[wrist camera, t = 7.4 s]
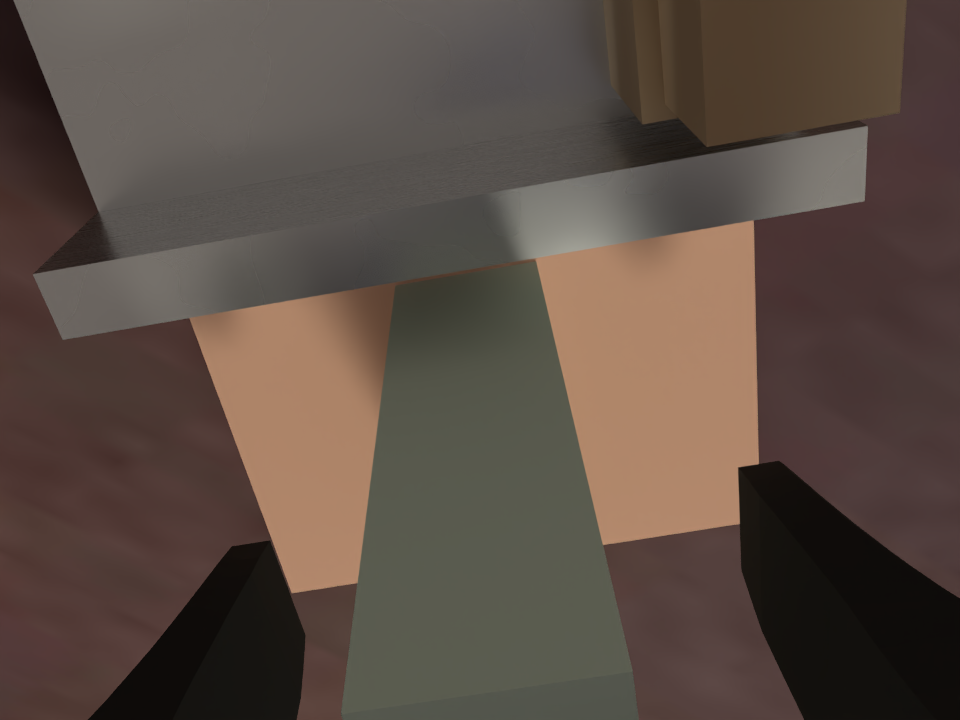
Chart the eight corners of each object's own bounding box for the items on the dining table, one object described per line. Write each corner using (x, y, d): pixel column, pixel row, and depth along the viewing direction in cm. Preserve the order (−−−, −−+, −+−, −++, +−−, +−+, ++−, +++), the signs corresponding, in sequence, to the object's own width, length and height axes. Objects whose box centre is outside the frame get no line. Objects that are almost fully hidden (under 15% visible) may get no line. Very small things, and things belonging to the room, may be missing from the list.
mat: (747, 196, 15) (753, 201, 15) (755, 511, 18) (759, 521, 18) (187, 293, 16) (182, 300, 15) (293, 582, 19) (291, 593, 19)
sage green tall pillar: (536, 261, 15) (632, 671, 7) (576, 526, 18) (676, 1027, 10) (395, 285, 15) (341, 714, 7) (457, 545, 18) (465, 1053, 10)
